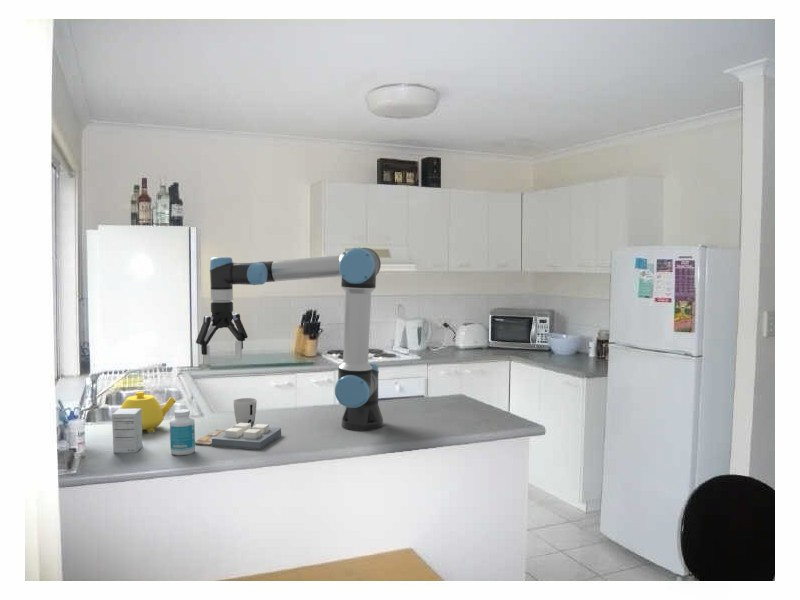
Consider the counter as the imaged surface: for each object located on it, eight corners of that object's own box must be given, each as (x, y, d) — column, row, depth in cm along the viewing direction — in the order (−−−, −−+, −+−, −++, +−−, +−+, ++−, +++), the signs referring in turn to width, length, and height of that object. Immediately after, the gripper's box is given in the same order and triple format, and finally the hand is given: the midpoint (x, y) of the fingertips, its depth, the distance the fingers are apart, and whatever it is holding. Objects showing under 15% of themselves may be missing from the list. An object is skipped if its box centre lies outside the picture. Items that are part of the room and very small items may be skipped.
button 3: (260, 437, 231) (260, 429, 231) (255, 440, 227) (255, 432, 226) (249, 436, 232) (249, 428, 231) (243, 439, 228) (243, 432, 227)
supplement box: (119, 446, 227) (118, 408, 226) (143, 445, 227) (142, 407, 226) (112, 453, 219) (111, 413, 218) (136, 452, 220) (135, 413, 219)
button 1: (242, 435, 232) (242, 428, 232) (236, 439, 228) (236, 431, 228) (231, 435, 233) (230, 427, 233) (225, 438, 229) (224, 430, 229)
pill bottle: (198, 453, 219) (197, 411, 218) (174, 457, 215) (173, 414, 214) (191, 447, 225) (190, 406, 224) (167, 451, 221) (166, 409, 220)
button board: (281, 435, 240) (281, 428, 239) (260, 449, 223) (260, 442, 223) (235, 432, 243) (235, 425, 243) (212, 446, 227) (211, 438, 227)
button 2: (251, 430, 239) (251, 423, 238) (245, 434, 235) (245, 426, 234) (239, 430, 240) (239, 422, 239) (234, 433, 236) (234, 425, 235)
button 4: (268, 432, 237) (268, 424, 237) (263, 435, 233) (263, 427, 233) (257, 431, 238) (257, 423, 238) (252, 434, 234) (252, 426, 234)
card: (233, 432, 244) (233, 430, 244) (209, 446, 227) (209, 443, 227) (217, 431, 245) (217, 429, 245) (192, 444, 229) (192, 442, 229)
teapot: (175, 421, 258) (174, 385, 257) (178, 432, 244) (177, 393, 243) (117, 426, 251) (116, 389, 250) (117, 438, 237) (115, 398, 236)
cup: (251, 431, 245) (250, 403, 244) (230, 430, 247) (229, 402, 246) (260, 425, 253) (260, 398, 252) (239, 424, 254) (239, 397, 254)
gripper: (243, 298, 255) (244, 355, 256) (184, 302, 235) (186, 364, 237) (256, 299, 250) (257, 357, 252) (197, 304, 231) (199, 367, 232)
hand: (222, 361), depth 244 cm, fingers open, 13 cm apart
